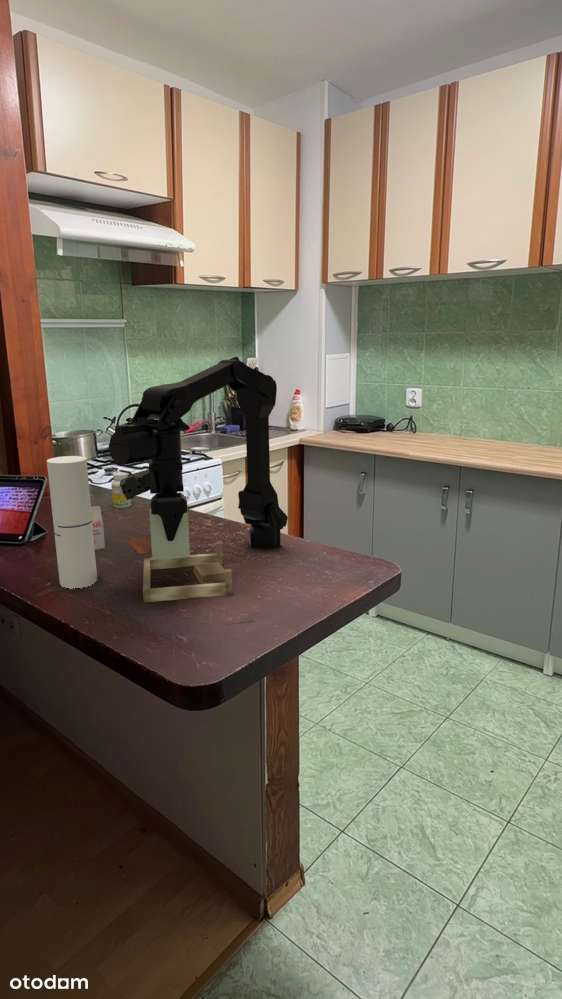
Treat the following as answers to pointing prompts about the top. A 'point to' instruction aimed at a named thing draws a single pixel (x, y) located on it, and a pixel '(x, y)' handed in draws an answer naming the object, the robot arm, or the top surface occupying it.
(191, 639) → the top surface
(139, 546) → the wooden tablet
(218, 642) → the top surface
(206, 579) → the tan flat block
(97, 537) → the white box
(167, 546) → the sage green prism
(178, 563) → the rack
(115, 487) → the supplement bottle
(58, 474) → the cylindrical container
